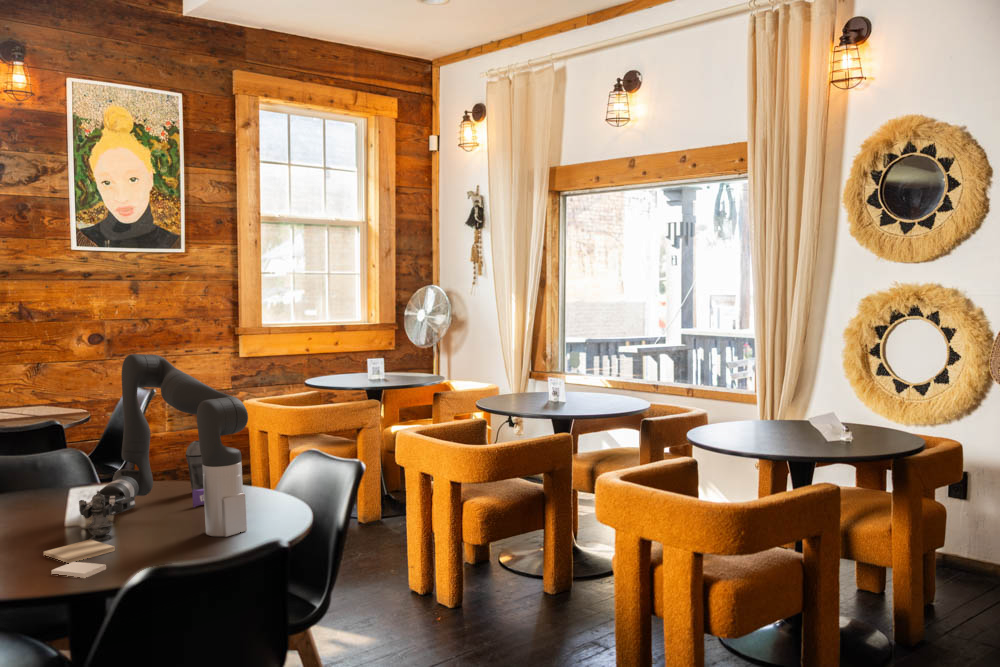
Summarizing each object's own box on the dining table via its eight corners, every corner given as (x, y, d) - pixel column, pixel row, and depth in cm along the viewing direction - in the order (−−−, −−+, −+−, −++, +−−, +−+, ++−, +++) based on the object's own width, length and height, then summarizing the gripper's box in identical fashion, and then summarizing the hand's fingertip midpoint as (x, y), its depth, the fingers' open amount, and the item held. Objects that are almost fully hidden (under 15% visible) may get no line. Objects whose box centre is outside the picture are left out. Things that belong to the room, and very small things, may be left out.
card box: (106, 571, 189) (105, 564, 189) (84, 580, 183) (84, 573, 183) (73, 568, 192) (73, 561, 192) (51, 577, 186) (51, 570, 186)
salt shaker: (95, 543, 208) (92, 494, 207) (82, 540, 212) (79, 491, 211) (118, 537, 213) (115, 489, 212) (106, 534, 216) (103, 486, 216)
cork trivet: (114, 550, 202) (114, 546, 202) (68, 563, 193) (67, 559, 193) (90, 543, 208) (89, 539, 208) (43, 555, 200) (43, 551, 200)
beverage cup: (186, 491, 260) (182, 425, 258) (211, 488, 263) (208, 423, 261) (188, 496, 253) (185, 428, 252) (214, 493, 256) (211, 426, 255)
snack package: (194, 508, 240) (193, 490, 239) (191, 507, 241) (190, 489, 241) (231, 499, 248) (231, 482, 248) (228, 498, 250) (227, 481, 249)
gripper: (86, 484, 225) (63, 500, 208) (143, 480, 227) (125, 496, 210) (87, 512, 225) (65, 531, 208) (145, 508, 227) (127, 526, 210)
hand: (95, 513), depth 209 cm, fingers closed on salt shaker, 3 cm apart
